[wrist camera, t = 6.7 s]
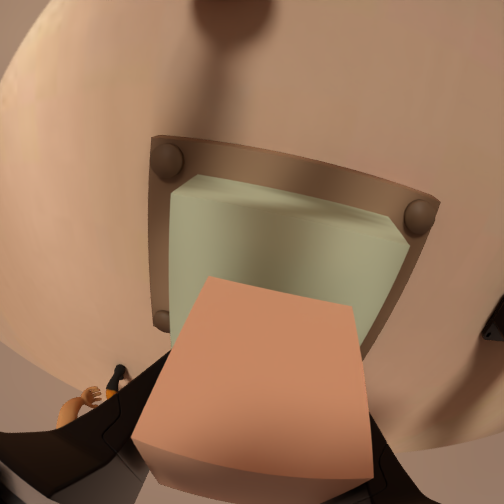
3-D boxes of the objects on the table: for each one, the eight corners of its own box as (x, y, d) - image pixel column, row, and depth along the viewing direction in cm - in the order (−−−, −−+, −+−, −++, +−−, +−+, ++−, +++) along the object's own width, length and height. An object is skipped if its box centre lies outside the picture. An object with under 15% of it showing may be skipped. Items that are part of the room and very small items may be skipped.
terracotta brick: (351, 306, 9) (373, 477, 4) (309, 387, 12) (301, 510, 6) (208, 275, 9) (130, 437, 4) (201, 365, 12) (159, 483, 7)
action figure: (101, 371, 24) (39, 482, 11) (92, 349, 23) (19, 470, 10) (184, 400, 24) (136, 535, 11) (182, 380, 22) (124, 533, 9)
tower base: (432, 195, 12) (471, 226, 8) (355, 358, 18) (361, 405, 14) (160, 134, 13) (115, 147, 9) (158, 316, 19) (134, 357, 15)
